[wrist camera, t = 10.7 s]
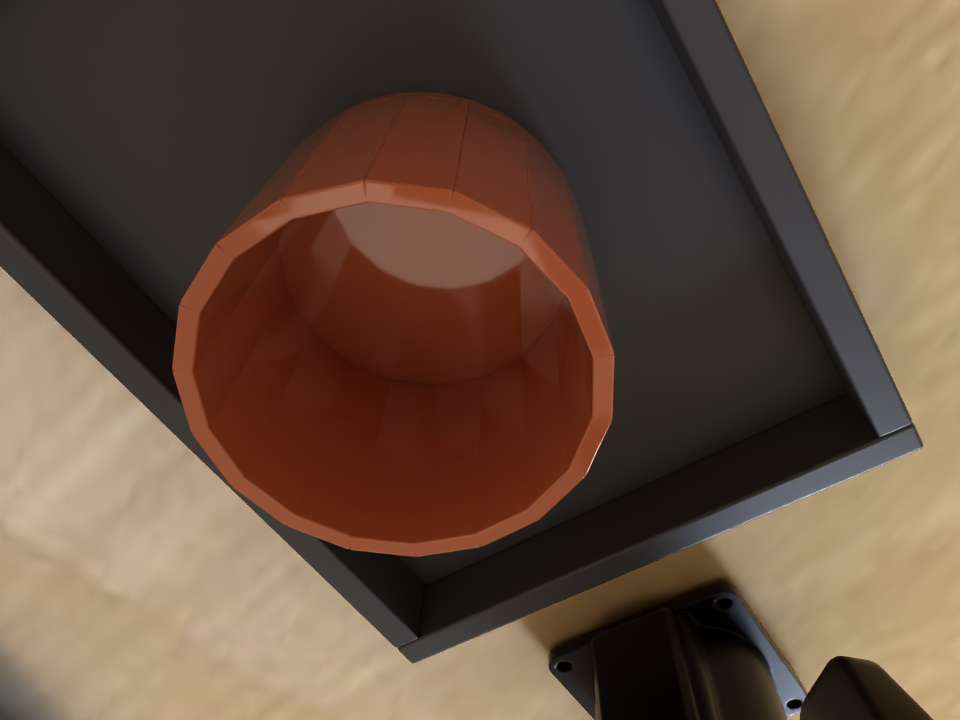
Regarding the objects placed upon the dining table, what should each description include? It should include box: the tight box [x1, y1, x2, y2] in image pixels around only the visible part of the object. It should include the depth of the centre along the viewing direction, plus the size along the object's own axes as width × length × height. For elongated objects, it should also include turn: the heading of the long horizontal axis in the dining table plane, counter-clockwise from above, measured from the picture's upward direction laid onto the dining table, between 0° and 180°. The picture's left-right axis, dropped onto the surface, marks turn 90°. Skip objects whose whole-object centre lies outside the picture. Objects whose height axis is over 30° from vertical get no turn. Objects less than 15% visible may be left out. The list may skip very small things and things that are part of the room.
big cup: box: [172, 92, 615, 557], centre depth 15 cm, size 7×7×6 cm
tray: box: [0, 0, 923, 663], centre depth 17 cm, size 20×15×2 cm
